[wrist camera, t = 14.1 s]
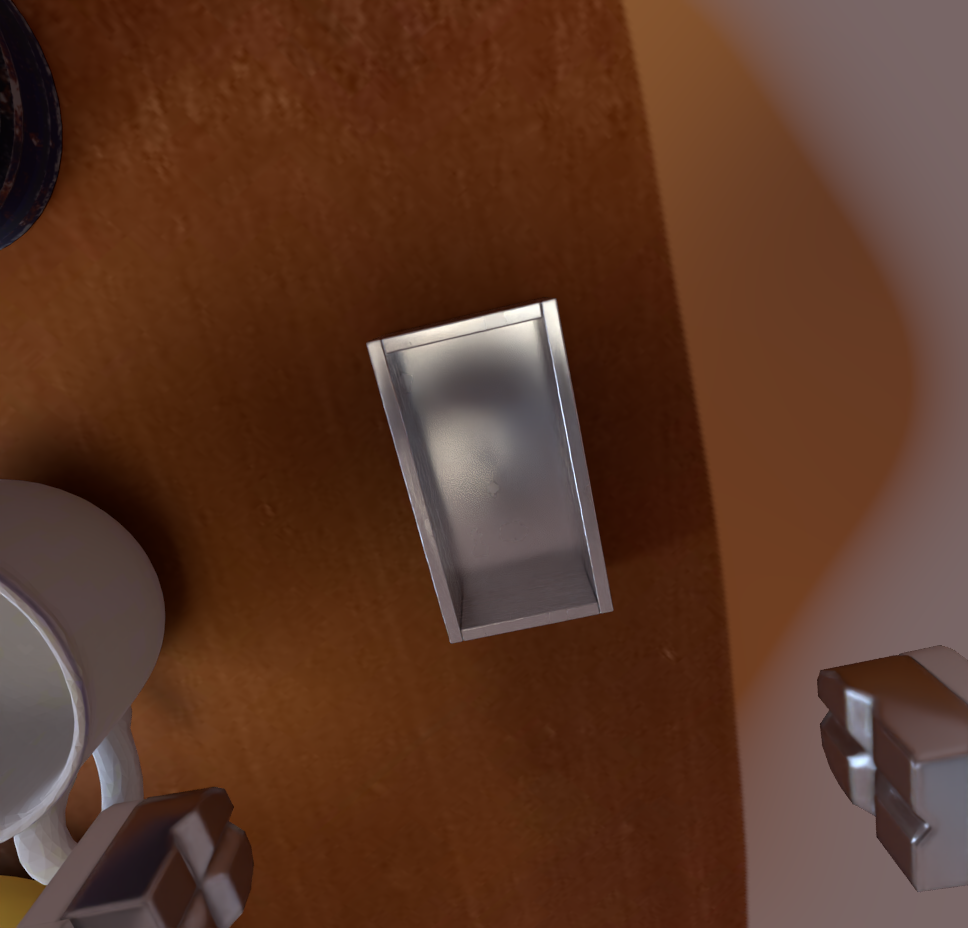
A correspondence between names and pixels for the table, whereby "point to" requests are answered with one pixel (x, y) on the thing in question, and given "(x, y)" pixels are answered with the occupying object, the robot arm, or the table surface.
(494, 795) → the table surface
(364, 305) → the table surface
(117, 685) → the teacup
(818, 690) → the robot arm
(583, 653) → the table surface
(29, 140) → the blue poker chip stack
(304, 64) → the table surface
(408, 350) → the open storage tray
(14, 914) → the teapot
